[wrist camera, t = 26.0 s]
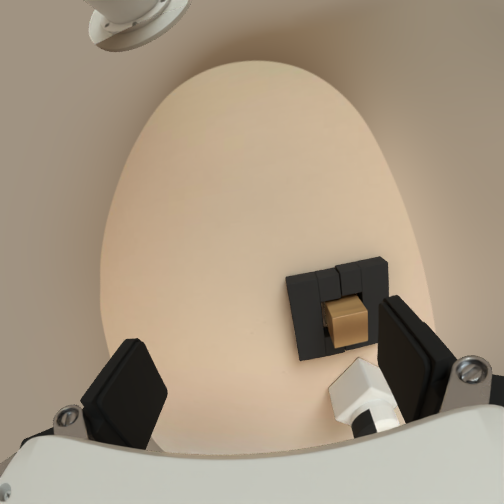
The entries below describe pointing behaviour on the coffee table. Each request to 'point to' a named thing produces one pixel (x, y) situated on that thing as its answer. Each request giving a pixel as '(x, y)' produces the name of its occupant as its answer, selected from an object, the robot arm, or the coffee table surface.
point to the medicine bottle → (363, 400)
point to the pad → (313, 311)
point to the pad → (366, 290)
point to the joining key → (346, 320)
